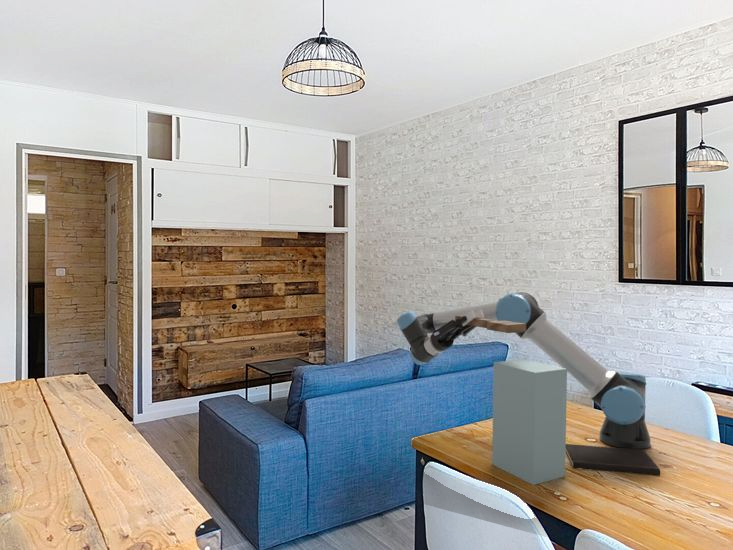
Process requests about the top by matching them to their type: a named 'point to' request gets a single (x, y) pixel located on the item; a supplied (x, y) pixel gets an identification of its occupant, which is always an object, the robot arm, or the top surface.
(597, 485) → the top surface
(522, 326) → the brown tapered block
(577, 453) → the hardcover book
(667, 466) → the top surface
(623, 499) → the top surface
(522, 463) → the stand
